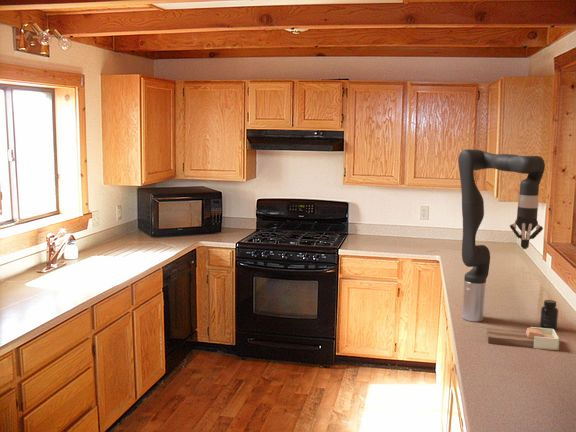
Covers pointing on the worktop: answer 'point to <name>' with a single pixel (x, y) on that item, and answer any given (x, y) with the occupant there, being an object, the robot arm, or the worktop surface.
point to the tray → (546, 339)
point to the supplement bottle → (549, 315)
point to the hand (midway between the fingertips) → (524, 248)
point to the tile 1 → (533, 333)
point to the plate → (509, 337)
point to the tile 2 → (547, 336)
